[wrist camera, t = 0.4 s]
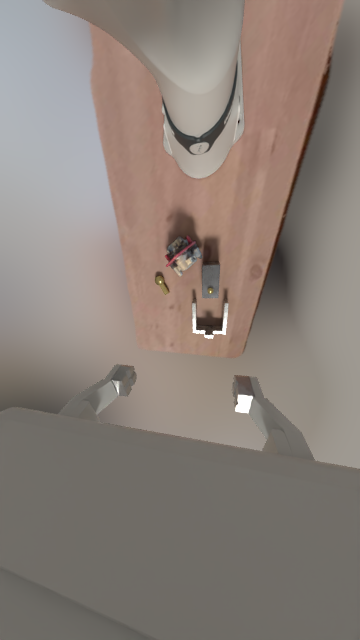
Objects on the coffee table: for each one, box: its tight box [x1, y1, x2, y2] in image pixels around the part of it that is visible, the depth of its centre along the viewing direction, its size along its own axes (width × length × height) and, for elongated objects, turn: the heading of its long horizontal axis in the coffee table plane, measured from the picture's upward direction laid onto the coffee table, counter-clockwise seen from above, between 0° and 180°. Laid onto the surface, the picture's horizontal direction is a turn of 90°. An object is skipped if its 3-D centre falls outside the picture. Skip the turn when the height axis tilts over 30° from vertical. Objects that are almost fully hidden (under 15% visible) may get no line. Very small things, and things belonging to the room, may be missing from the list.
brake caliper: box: [165, 235, 202, 276], centre depth 45 cm, size 11×11×12 cm
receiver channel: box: [192, 299, 228, 338], centre depth 53 cm, size 13×12×7 cm
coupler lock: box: [202, 262, 220, 298], centre depth 46 cm, size 10×5×8 cm, turn 4°
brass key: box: [155, 275, 169, 295], centre depth 53 cm, size 7×3×2 cm, turn 29°
